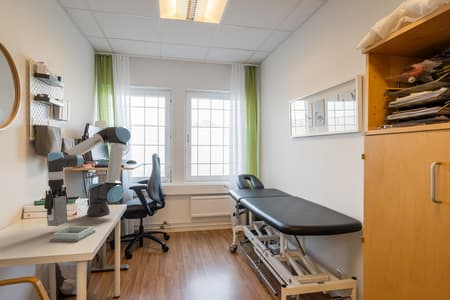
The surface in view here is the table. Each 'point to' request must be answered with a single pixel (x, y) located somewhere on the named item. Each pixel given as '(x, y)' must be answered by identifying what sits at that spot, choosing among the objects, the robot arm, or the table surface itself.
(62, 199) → the skincare box
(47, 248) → the table surface
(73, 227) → the tray
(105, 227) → the table surface
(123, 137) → the robot arm
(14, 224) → the table surface
